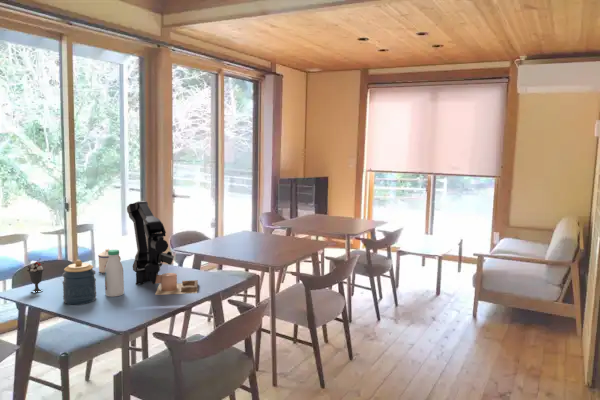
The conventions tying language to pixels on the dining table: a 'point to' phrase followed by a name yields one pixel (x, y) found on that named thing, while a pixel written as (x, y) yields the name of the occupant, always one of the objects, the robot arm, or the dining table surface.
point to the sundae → (36, 274)
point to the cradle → (181, 288)
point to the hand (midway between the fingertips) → (154, 281)
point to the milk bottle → (114, 275)
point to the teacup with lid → (103, 260)
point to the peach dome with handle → (167, 281)
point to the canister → (79, 283)
